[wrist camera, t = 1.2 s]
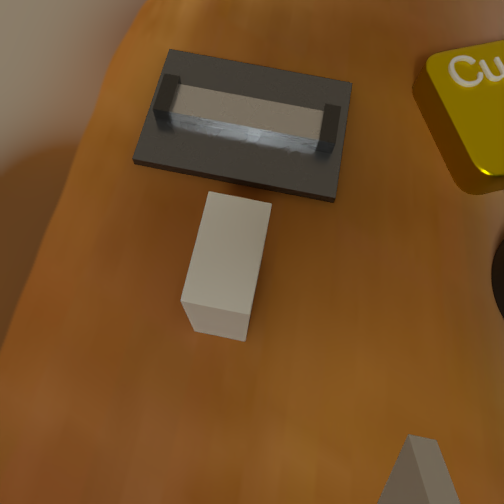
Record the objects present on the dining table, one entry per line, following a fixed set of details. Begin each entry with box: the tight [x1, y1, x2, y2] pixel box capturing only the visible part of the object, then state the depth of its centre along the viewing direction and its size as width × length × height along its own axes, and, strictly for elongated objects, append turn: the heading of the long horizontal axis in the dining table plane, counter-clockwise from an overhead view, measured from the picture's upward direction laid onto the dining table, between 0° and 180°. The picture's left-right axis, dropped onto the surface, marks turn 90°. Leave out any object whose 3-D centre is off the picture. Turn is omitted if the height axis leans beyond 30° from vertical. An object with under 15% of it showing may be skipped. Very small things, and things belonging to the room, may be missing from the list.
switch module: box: [180, 191, 272, 341], centre depth 35 cm, size 9×4×11 cm, turn 169°
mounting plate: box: [132, 49, 352, 203], centre depth 45 cm, size 20×14×3 cm
